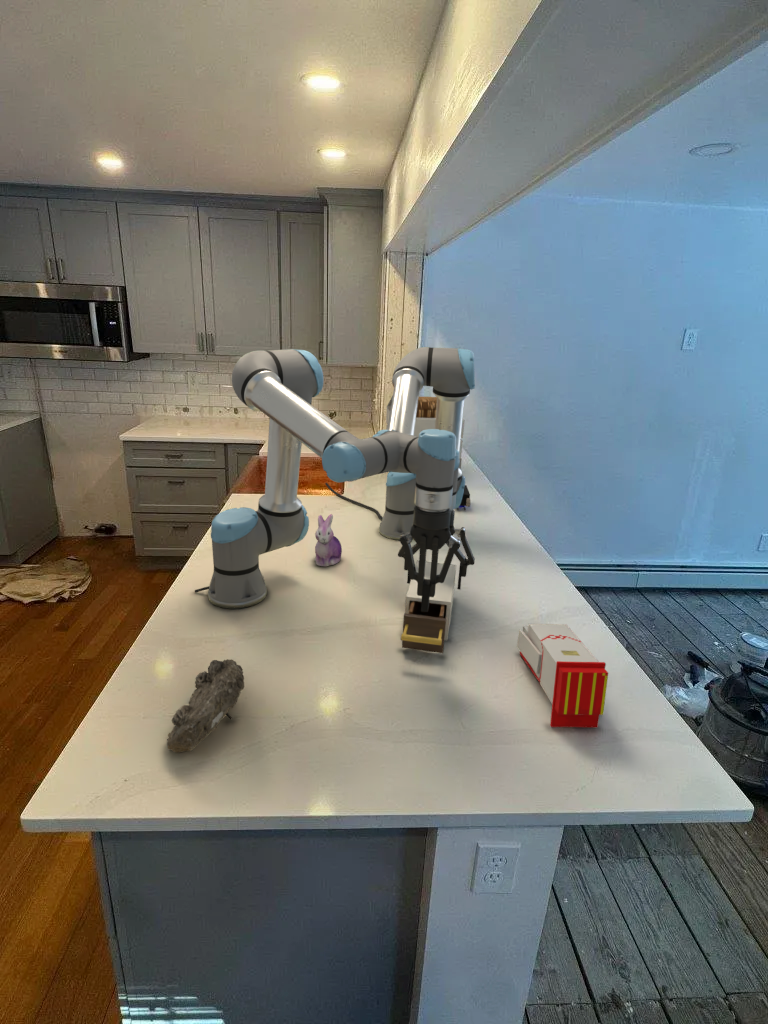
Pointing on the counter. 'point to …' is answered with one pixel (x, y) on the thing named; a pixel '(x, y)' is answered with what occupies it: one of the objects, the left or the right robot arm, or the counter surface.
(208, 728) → the fossil
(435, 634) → the drawer
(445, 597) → the cabinet
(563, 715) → the toy
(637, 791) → the counter surface
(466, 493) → the figurine character
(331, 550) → the figurine
